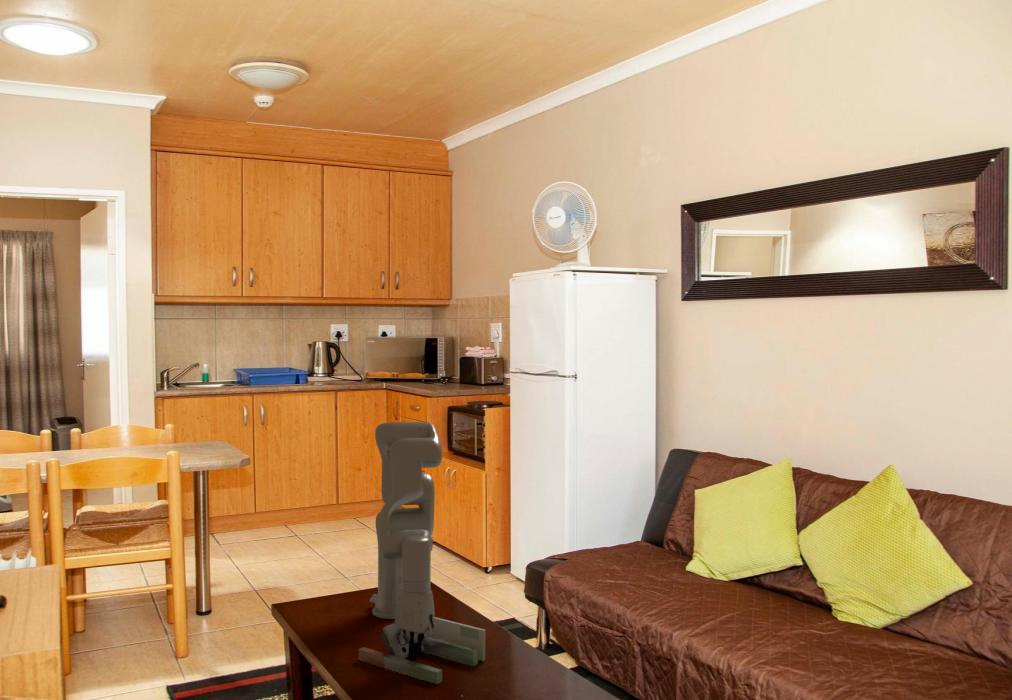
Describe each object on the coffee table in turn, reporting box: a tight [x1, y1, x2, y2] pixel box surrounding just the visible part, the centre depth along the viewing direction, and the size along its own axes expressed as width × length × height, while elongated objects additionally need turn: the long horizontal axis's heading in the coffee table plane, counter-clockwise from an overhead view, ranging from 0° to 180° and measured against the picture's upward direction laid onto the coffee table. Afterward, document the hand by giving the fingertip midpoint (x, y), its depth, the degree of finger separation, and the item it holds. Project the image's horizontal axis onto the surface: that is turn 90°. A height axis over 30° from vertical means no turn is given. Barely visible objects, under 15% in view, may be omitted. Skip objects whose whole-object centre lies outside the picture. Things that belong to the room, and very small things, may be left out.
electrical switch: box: [379, 622, 423, 659], centre depth 225 cm, size 9×5×9 cm, turn 142°
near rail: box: [357, 646, 443, 685], centre depth 216 cm, size 26×2×3 cm, turn 55°
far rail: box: [422, 636, 479, 667], centre depth 228 cm, size 26×2×4 cm, turn 55°
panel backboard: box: [432, 617, 486, 662], centre depth 231 cm, size 26×1×8 cm, turn 55°
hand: (415, 656), depth 222 cm, fingers closed
